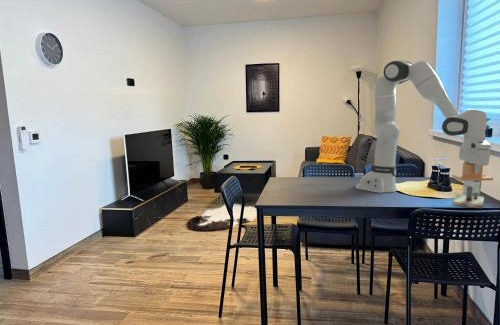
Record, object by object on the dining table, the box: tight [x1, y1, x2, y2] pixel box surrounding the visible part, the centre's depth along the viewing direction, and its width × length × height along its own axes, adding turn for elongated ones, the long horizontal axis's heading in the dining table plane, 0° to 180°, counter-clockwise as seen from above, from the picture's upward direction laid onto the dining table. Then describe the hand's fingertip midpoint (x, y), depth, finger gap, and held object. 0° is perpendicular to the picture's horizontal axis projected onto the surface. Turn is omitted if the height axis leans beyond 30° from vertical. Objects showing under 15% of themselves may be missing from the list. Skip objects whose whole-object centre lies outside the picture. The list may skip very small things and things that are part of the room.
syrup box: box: [462, 181, 482, 196], centre depth 184 cm, size 6×6×14 cm
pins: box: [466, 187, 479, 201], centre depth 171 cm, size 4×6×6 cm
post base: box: [452, 193, 485, 209], centre depth 172 cm, size 12×18×2 cm, turn 144°
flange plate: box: [452, 162, 494, 182], centre depth 168 cm, size 14×9×7 cm, turn 84°
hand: (471, 171), depth 168 cm, fingers closed on flange plate, 6 cm apart
